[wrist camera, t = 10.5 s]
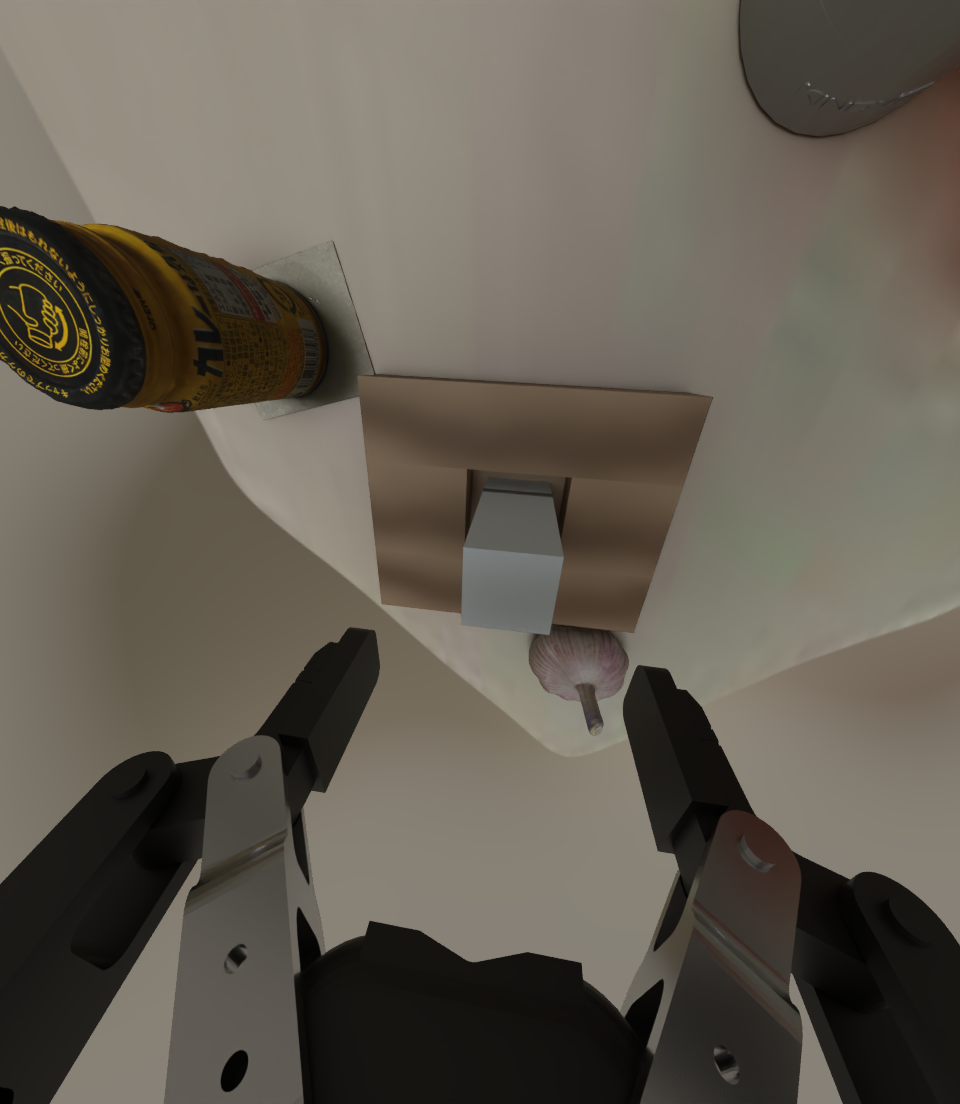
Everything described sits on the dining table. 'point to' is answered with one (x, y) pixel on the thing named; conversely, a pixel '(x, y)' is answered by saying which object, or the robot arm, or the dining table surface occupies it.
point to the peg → (512, 558)
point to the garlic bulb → (580, 667)
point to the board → (526, 454)
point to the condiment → (172, 322)
